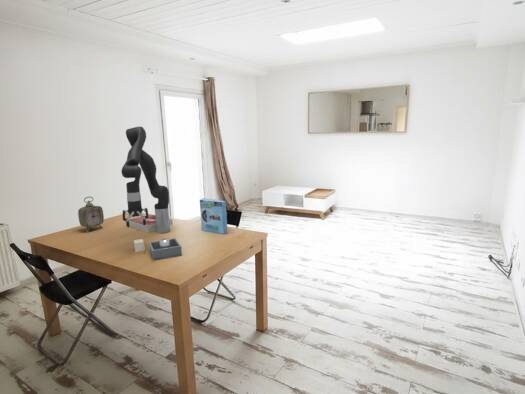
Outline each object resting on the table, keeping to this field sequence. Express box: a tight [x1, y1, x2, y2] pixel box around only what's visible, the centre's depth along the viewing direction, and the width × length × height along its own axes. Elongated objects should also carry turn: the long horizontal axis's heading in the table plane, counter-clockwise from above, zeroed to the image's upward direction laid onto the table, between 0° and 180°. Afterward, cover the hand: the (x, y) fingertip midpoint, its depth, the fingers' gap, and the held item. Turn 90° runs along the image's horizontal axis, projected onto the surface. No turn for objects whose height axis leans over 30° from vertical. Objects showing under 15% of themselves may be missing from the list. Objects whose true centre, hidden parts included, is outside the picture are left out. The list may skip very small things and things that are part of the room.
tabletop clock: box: [77, 196, 105, 233], centre depth 233 cm, size 14×9×25 cm, turn 150°
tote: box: [148, 237, 183, 261], centre depth 187 cm, size 16×16×6 cm
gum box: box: [199, 197, 228, 235], centre depth 225 cm, size 20×5×23 cm, turn 60°
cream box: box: [133, 238, 145, 253], centre depth 194 cm, size 6×5×6 cm
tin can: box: [158, 238, 170, 249], centre depth 187 cm, size 6×6×7 cm
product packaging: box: [125, 213, 174, 233], centre depth 244 cm, size 22×28×5 cm
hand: (136, 226), depth 192 cm, fingers open, 8 cm apart
